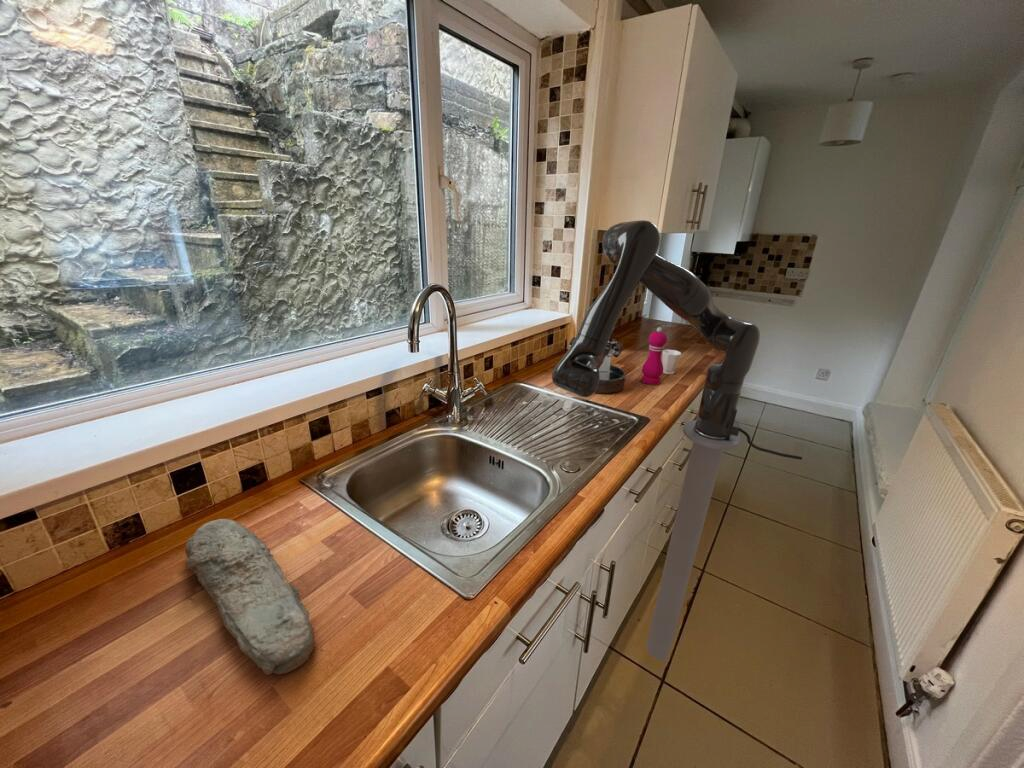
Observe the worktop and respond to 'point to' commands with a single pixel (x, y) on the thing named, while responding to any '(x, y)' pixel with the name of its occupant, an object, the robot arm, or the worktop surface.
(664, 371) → the cup
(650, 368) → the pepper mill
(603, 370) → the syrup box
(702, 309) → the robot arm
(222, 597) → the long grey stone
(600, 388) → the pan
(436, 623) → the worktop surface
